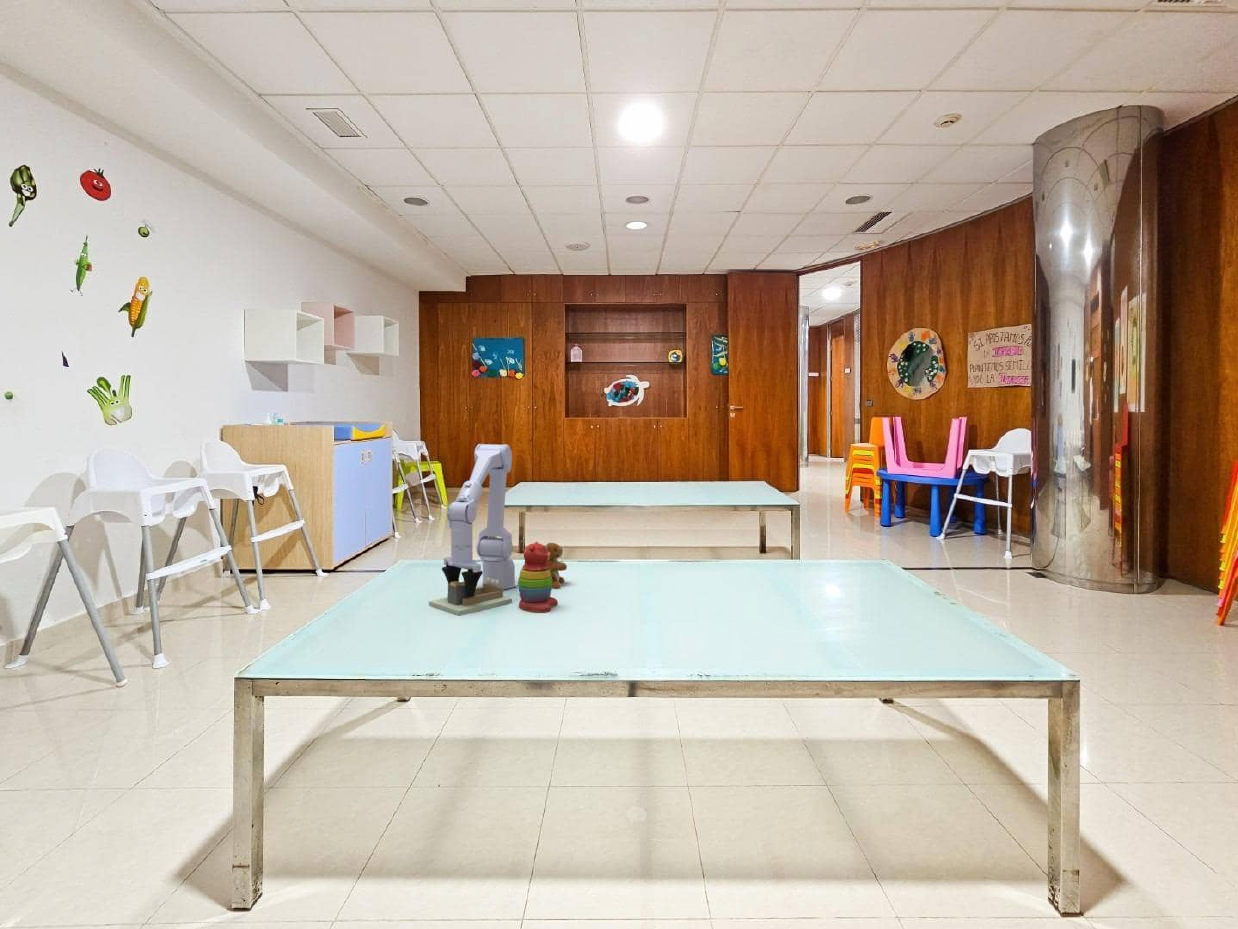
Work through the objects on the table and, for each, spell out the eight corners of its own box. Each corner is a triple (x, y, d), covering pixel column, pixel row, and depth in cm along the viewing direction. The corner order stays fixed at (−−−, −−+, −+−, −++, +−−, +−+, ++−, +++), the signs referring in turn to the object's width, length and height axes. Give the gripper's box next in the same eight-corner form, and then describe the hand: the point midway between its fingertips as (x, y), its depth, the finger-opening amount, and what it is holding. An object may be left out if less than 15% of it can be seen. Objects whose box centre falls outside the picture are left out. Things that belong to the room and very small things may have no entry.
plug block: (466, 598, 196) (466, 578, 196) (474, 601, 193) (474, 580, 193) (447, 602, 192) (447, 581, 191) (456, 605, 189) (456, 584, 189)
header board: (481, 593, 206) (481, 574, 206) (512, 602, 197) (512, 582, 197) (428, 605, 193) (428, 584, 193) (458, 615, 184) (458, 593, 183)
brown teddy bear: (561, 589, 213) (562, 546, 213) (517, 586, 216) (517, 544, 215) (569, 581, 223) (570, 541, 222) (527, 579, 226) (527, 539, 225)
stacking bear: (548, 613, 187) (548, 547, 186) (512, 610, 189) (512, 545, 188) (559, 603, 197) (560, 540, 196) (525, 600, 199) (525, 539, 198)
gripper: (434, 543, 194) (434, 591, 194) (465, 550, 184) (465, 601, 185) (455, 540, 199) (455, 587, 200) (487, 547, 189) (487, 596, 190)
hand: (461, 594), depth 193 cm, fingers open, 7 cm apart
